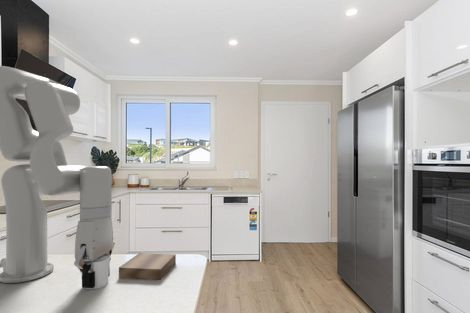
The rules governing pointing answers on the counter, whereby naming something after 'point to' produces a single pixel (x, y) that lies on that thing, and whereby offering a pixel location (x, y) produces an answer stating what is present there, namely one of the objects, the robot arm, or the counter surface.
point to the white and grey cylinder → (101, 270)
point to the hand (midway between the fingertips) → (96, 281)
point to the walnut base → (147, 266)
